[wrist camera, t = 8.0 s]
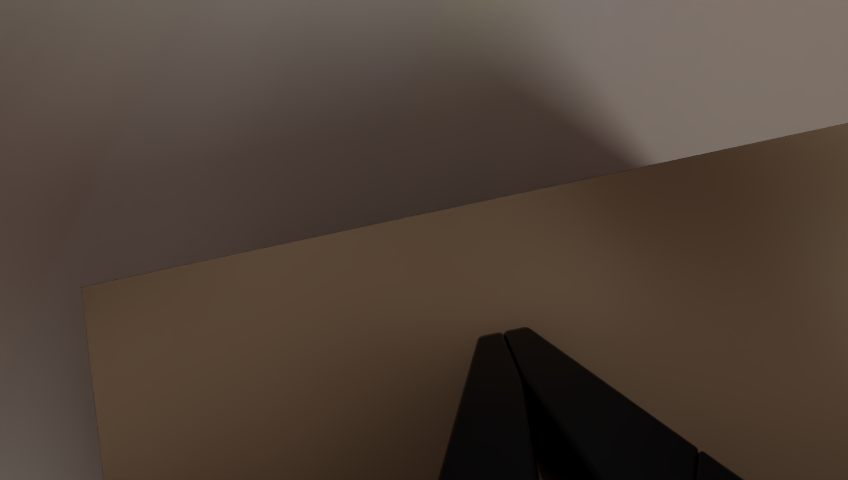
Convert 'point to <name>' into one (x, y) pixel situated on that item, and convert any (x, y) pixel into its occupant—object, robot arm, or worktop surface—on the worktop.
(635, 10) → the worktop surface
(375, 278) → the lid
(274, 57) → the worktop surface
